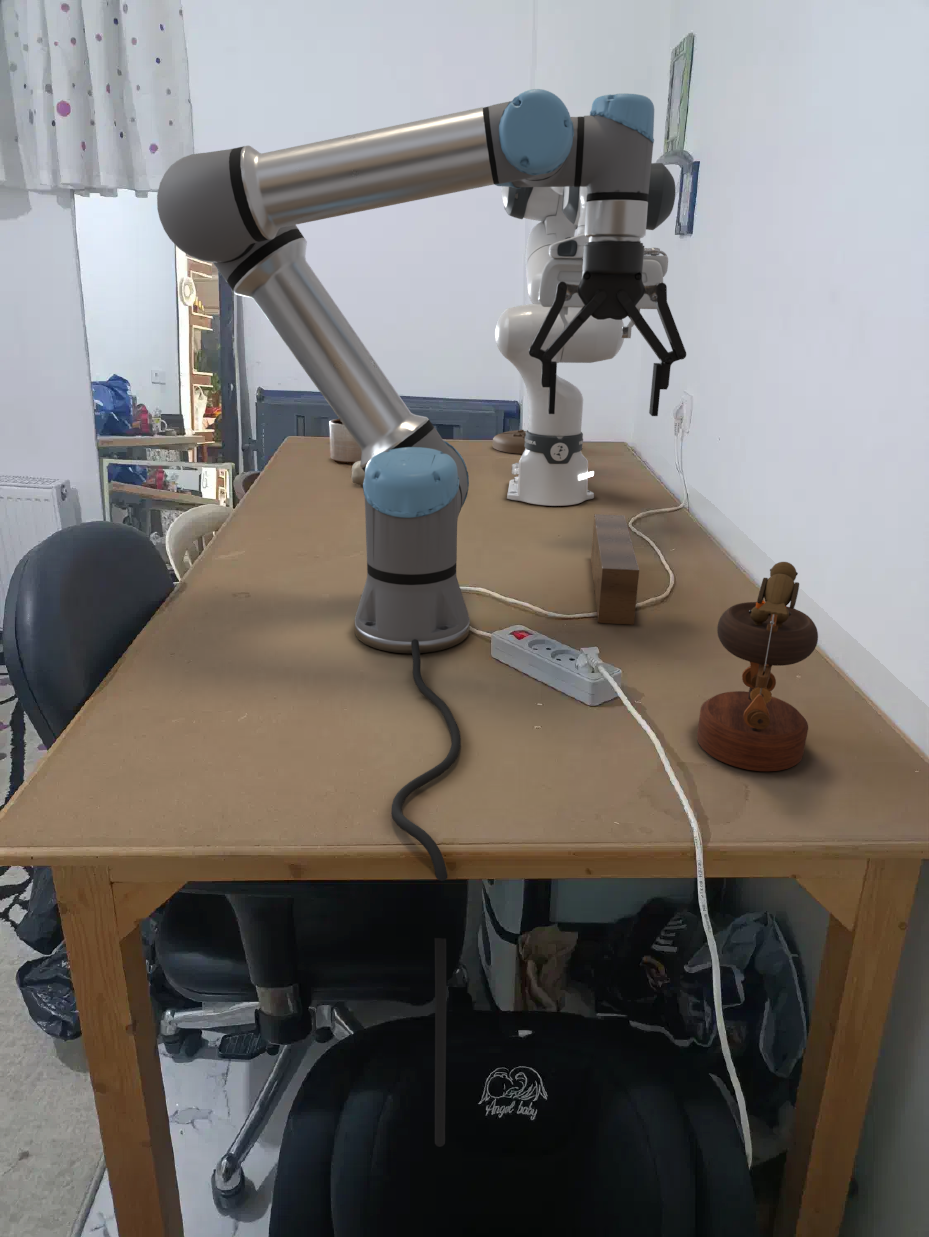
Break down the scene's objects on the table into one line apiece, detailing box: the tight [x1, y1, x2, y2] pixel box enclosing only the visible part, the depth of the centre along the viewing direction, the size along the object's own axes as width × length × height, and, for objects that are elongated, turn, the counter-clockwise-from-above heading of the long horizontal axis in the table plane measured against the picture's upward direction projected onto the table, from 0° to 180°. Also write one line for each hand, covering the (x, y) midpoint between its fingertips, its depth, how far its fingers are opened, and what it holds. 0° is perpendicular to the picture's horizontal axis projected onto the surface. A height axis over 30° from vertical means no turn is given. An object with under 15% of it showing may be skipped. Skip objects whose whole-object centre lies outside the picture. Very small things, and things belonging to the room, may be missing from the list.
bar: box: [590, 513, 640, 626], centre depth 128 cm, size 28×5×8 cm, turn 174°
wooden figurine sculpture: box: [696, 561, 819, 772], centre depth 84 cm, size 15×11×20 cm
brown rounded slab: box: [492, 428, 527, 455], centre depth 225 cm, size 21×28×4 cm
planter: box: [328, 418, 362, 464], centre depth 212 cm, size 11×11×10 cm
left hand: (602, 414), depth 113 cm, fingers open, 13 cm apart
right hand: (597, 337), depth 141 cm, fingers open, 8 cm apart
